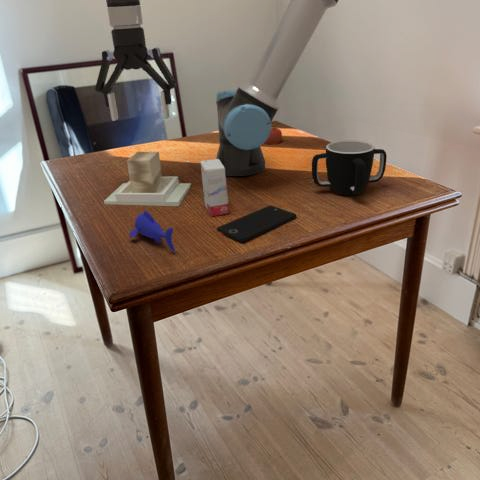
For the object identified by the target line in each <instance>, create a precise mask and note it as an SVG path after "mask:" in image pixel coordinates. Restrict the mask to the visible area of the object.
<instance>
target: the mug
mask: <svg viewBox="0 0 480 480" xmlns="http://www.w3.org/2000/svg"><path fill="white" fill-rule="evenodd" d="M375 155H379V164H378V165H379V167H378V170H377V173H376V174H375V175H374V176H371V175H372V169H373V165H374V157H375ZM320 159H325V168H326V169H325V170H326V177H327V180H324V181H323V180H322V181H321V180H320V178H319V176H318V175H319V173H318V172H319V171H318V166H319V165H318V164H319V160H320ZM386 167H387V152H386V151H385V150H384V149H381V148H375V145H373V144H372V143H369V142H368V141H367V142H366V141H363V140H362V141H361V140H338V141H334V142H330V143H328V144H327V145H326V146H325V152H323V153H319V154H318V153H317V154H315V155H313V157H312V159H311V177H312V180H313V183H314V184H315V185H316V186H317V187H320V188H321V187H322V188H326V187H327V188H328V187H329V189H330V191H331V192H333V193H335V194H337V195H340V196H341V195H342V196H356V195H360V194H362V193H364V192H365V191H366V190H367V187H368V185H369V184H370V183H371V184H372V183H377V182H379V181H381V179H382V178H383V176H384V175H385V172H386Z"/></svg>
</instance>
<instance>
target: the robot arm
mask: <svg viewBox="0 0 480 480" xmlns="http://www.w3.org/2000/svg"><path fill="white" fill-rule="evenodd" d="M140 1H141V0H106V7H107V13H108V19H109V20H108V21H109V26H110V27H112V28H113V29H111V32H110V33H111V38H112V45H113V48H114V49H113V51H111V50H109V49H108V50H104V51H102V52H101V61H102V62H101V65H100V69H99V71H98V76H97V81H96V84H95V87H94V90H95V92H97V93H99V92H100V93H102V95H103V97H104V98H103V99H104V102H105V106H106V107H107V108H108V107H109V111H110V112H109V113H110V117H111V121H112V122H113V121H114V122H115V121H116V120H118V119H119V113H118V106H117V101H116V94H115V92H113V91H112V89H113V88H114V86H115V84H116V83H117V81H118V80H119V78H120V76H121V74H122V73H123V71H124V70H126V71H129V70H132V69H133V70H140V69H142V70H143V71H144V72H146V73H147V75H148V76H149V77H150V78H151V79H152V80H153V81H154V82H155V83H156V84H157V86H159V87H160V89H161V91H160V99H161V107H162V114H163V119H164V120H167V119H169V118H170V109H169V108H170V107H169V105H171V104H172V94H171V90H172V89H174V88H176V87H177V85H178V83H177V81H176V80H175V78H174V76H173V74H172V72H171V71H170V69H169V68H168V66H167V64H166V63H165V61H164V59H163V58H162V54H161V50H160V48H159V47H153V48H150V49H148V48H147V43H146V36H145V28H143V27H142V26H141V25H143V17H142V16H143V14H142V8H141V2H140ZM338 2H339V0H290V1H289V3H288V5H287V6H286V8H285V11H284V13H283V14H282V16H281V18H280V19H279V22H278V24H277V25H276V28H275V30H274V32H273V34H272V36H271V37H270V39H269V41H268V42H267V43H268V44H267V45H266V46H265V49H264V51H263V53H262V55H261V57H260V59H259V61H258V62H257V64H256V66H255V68H254V70H253V72H252V73H251V76H250V78H249V79H248V81H247V82H246V83H244V84H241V85H239V86H238V87H237V89H233V90H222V91H218V92H217V93H216V100H215V104H216V110H217V126H218V140H219V145H218V150H217V154H216V158H215V159H219V160H220V162H221V163H222V165H223V166H224V168H225V176H228V177H229V176H230V177H245V176H251V175H256V174H259V173H261V172H263V171H265V169H266V158H265V156H264V153H263V151H262V147H261V146H262V145H263V144H264V142H265V141H266V140H267V139H268V137H269V135H270V132H271V127H272V122H273V120H274V118H275V116H276V114H277V112H278V110H279V104H278V98H279V96H280V95H281V93H282V92H283V89H284V88H285V86H286V84H287V82H288V80H289V78H290V76H291V75H292V73H293V71H294V69H295V68H296V66H297V65H298V62H299V61H300V58H301V56H302V55H303V53H304V51H305V49H306V47H307V45H308V43H309V42H310V40H311V38H312V36H313V35H314V33H315V31H316V29H317V28H318V26H319V23H320V22H321V20H322V18H323V17H324V15H325V13H326V12H327V10H328V9H330V8H333V7H336V5H337V4H338ZM149 56H150V57H151V59H153V60H154V62H155V64H156V66H157V68H158V69H159V71H160V73H161V74H162V76H163V77H164V78H163V77H162V76H161V75H160V74H159V73H158V72H157V71H156V69H154V67H153V66H152V64H151V63H150V62H149V61H148V60H147V59H148V57H149ZM113 59H115V60H116V62H117V64H116V65H115V67H114V69H113V72H112V73H111V75H110V76H109V78H108V81H107V82H106V80H107V77H108V74H109V70H110V65H111V61H113Z"/></svg>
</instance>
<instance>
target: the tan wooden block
mask: <svg viewBox="0 0 480 480" xmlns="http://www.w3.org/2000/svg"><path fill="white" fill-rule="evenodd" d="M160 158H161V157H160V152H159V151H136V152H135V153H134V154H133V155H132V156H131V157H129V158H128V159H127V160H126V164H127V171H128V176H129V177H128V178H129V181H130V184H131V190H132V193H159V191H160V190H161V189H162V188H163V181H162V177H163V174H162V167H161V166H162V165H161V159H160Z"/></svg>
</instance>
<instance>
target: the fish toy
mask: <svg viewBox="0 0 480 480" xmlns="http://www.w3.org/2000/svg"><path fill="white" fill-rule="evenodd" d="M134 228H135V229H133V230H131V231H130V232H129V235H128V236H130V237H131V238H134V237H136V235H137V234H138V233H139V234H141V235H142V236H145V237H147V238H150V239H153V240H154V242H155V243H158V244H160V243H161V242H162V240H161V239H163V238H164V240H165V241H166V244H167V246H168V248H169V249H170V250H171V251H172V252H173V253H174V254H175V253H176V251H175V247H174V244H173V240H172V235H173V231H174V228H172V227H168V228H166V230H165V232H164V231H163V229H162V226H161V225H159V223H158V222H157V221H156V220H155V219H154V217H153V216H152V215H151V213H150V212H148V211H147V210H143V213H140V214H139V215H137V216H136V218H135V222H134Z"/></svg>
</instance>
